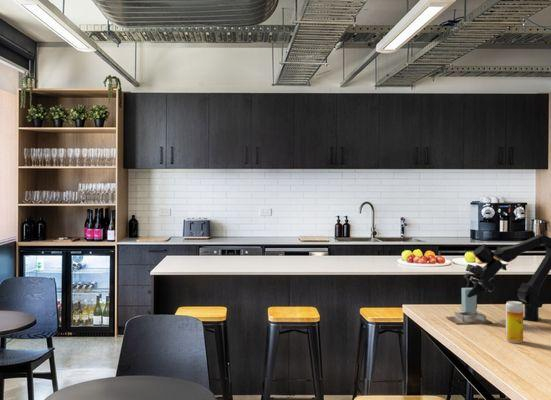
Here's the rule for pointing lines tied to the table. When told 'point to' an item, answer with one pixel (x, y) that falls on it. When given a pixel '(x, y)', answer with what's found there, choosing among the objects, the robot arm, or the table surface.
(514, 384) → the table surface
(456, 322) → the brown framed base board
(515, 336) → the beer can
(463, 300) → the pale blue box
